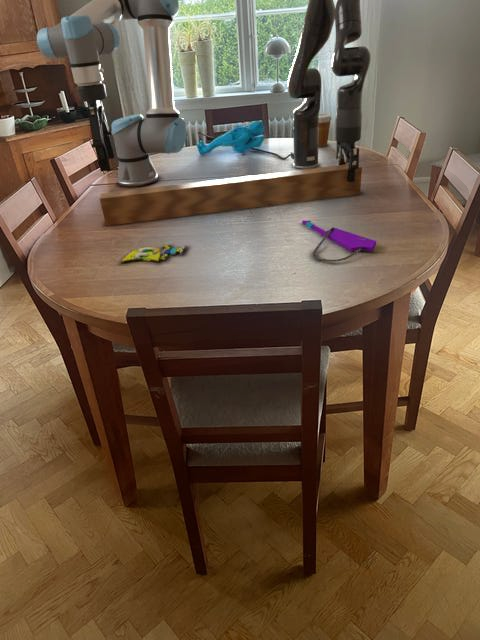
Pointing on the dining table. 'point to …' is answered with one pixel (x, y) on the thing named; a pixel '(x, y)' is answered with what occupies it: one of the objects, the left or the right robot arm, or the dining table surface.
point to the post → (228, 194)
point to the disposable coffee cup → (323, 129)
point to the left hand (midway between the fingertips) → (107, 164)
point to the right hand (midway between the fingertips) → (346, 178)
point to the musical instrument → (342, 240)
